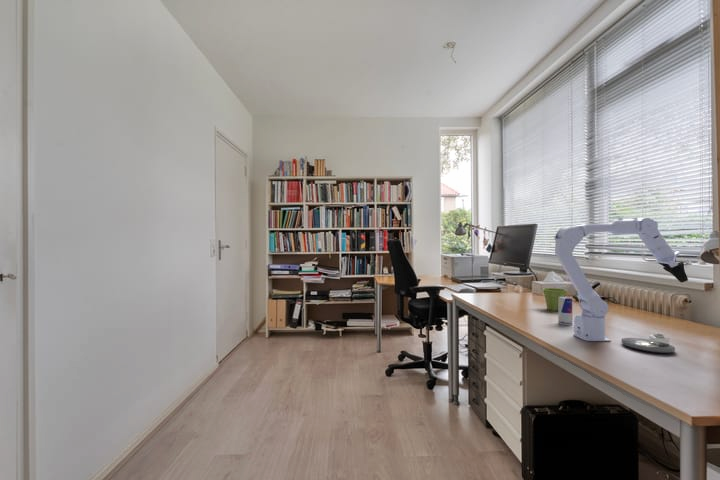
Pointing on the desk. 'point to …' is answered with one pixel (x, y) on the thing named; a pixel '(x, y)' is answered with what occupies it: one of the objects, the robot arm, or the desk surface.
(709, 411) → the desk surface
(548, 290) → the plant pot
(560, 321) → the energy drink
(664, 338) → the cover
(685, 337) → the desk surface
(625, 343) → the turntable
